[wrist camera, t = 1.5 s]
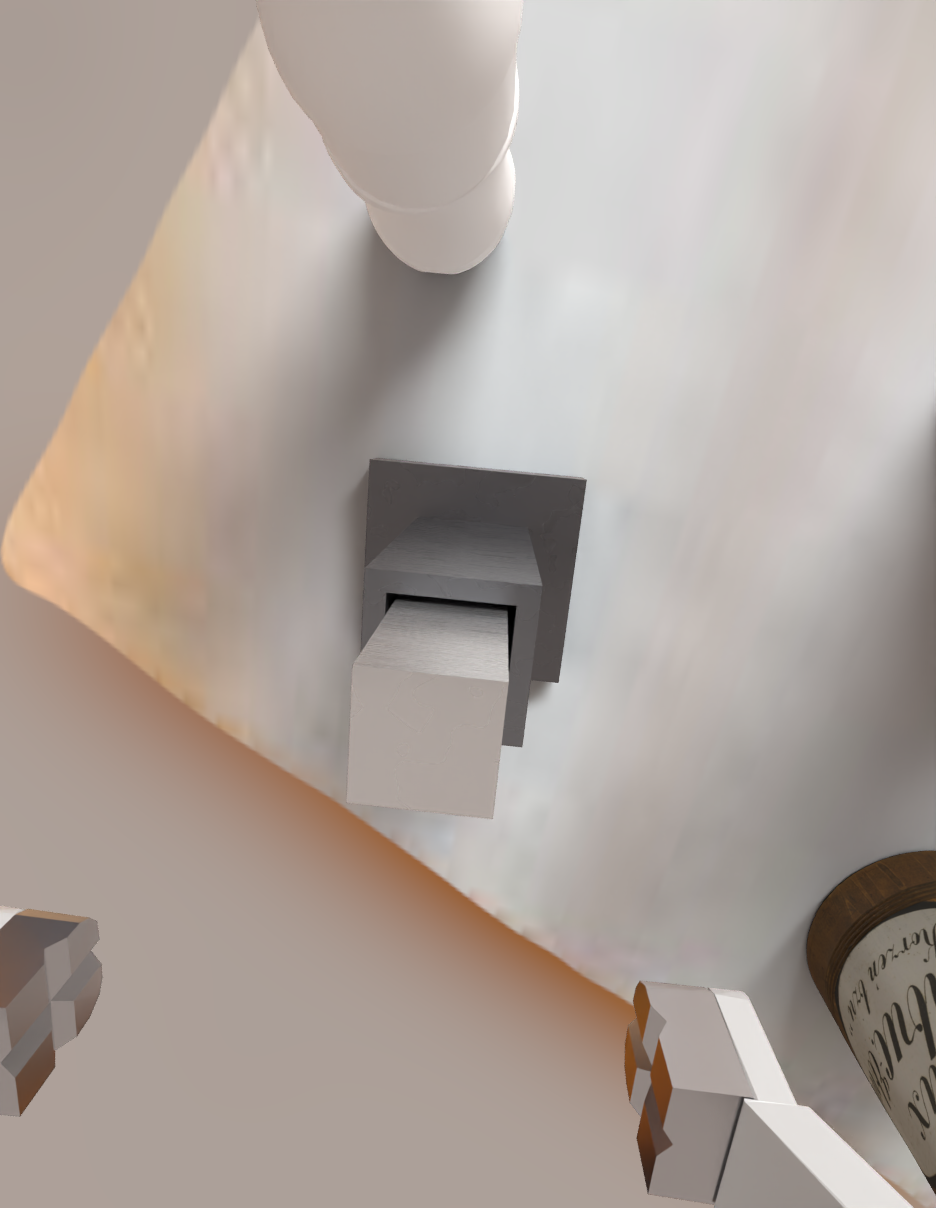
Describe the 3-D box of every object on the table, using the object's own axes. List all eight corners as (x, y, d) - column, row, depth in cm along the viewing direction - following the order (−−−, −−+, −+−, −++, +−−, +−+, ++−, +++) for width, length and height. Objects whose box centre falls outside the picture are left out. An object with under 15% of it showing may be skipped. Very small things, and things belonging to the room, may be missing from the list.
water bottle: (480, 308, 34) (425, 3, 10) (359, 252, 34) (-7, -206, 10) (536, 168, 32) (634, -627, 8) (408, 107, 32) (106, -924, 8)
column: (506, 545, 35) (509, 681, 16) (499, 614, 36) (493, 819, 17) (435, 538, 35) (351, 664, 16) (429, 606, 36) (345, 803, 17)
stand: (582, 477, 36) (644, 512, 20) (555, 670, 39) (591, 832, 23) (376, 458, 36) (277, 476, 20) (367, 650, 40) (274, 797, 24)
